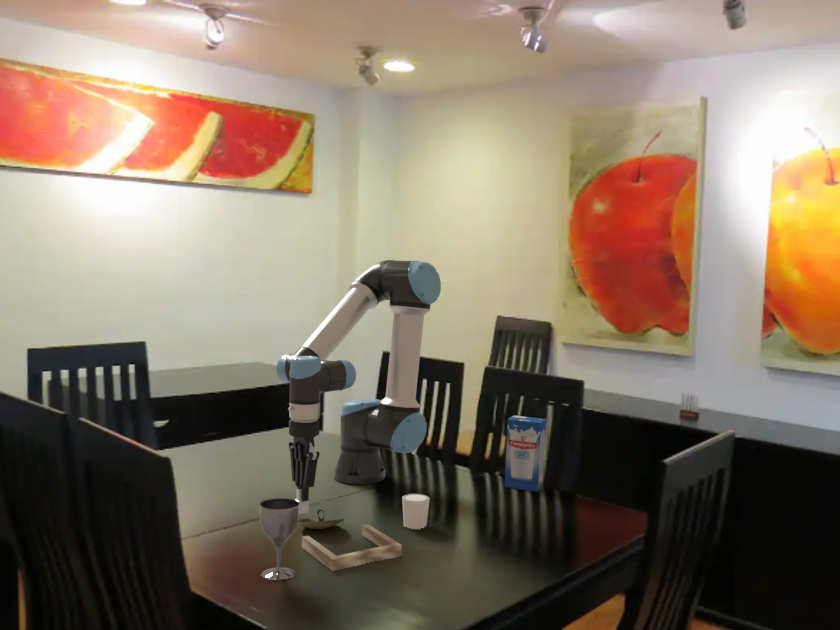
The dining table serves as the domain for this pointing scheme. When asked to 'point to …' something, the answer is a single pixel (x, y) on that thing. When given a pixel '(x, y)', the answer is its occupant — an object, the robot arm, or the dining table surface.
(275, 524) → the wine glass
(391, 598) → the dining table surface
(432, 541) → the dining table surface
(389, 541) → the wooden u-shaped frame
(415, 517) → the white cup
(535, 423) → the milk carton
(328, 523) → the lid
